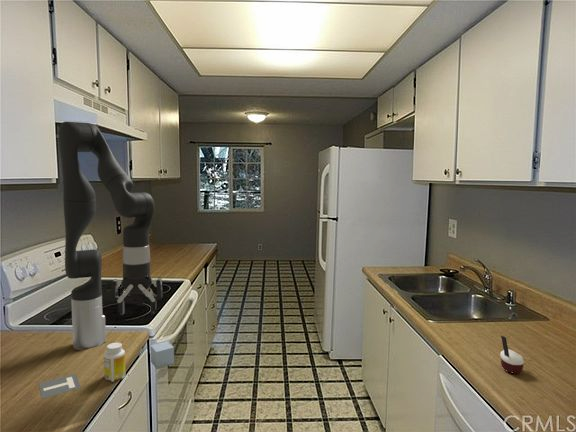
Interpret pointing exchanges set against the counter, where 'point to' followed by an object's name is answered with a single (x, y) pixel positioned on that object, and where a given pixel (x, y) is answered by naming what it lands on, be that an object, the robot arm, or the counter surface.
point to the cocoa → (511, 359)
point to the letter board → (59, 385)
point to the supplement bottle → (114, 362)
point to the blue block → (162, 354)
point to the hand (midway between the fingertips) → (137, 313)
